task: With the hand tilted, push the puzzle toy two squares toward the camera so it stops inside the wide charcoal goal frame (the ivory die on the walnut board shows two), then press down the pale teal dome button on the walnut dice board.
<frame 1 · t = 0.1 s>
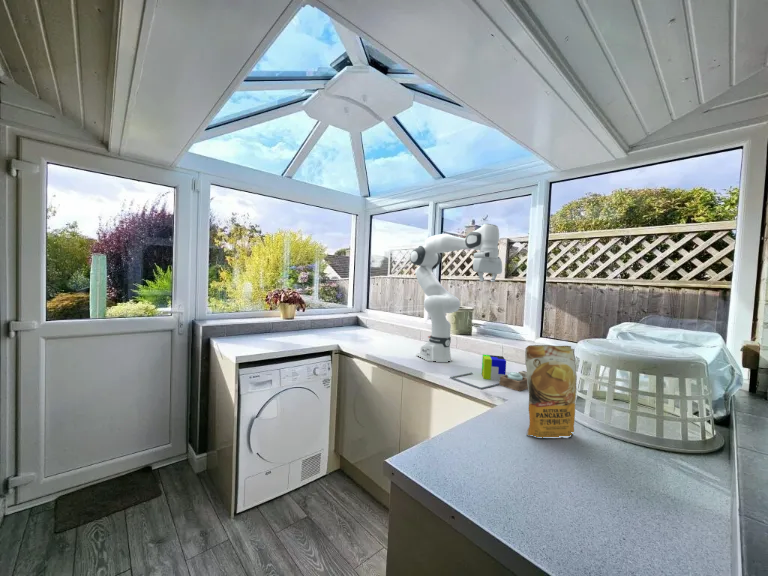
hand: (487, 281, 167), 48 cm above the worktop, tool pointing down, fingers open, 8 cm apart
puzzle toy: (492, 377, 162), on the worktop
pancake mix bag: (548, 434, 101), on the worktop
goal frame: (476, 380, 154), on the worktop
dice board: (518, 385, 150), on the worktop
dome button: (515, 376, 148), point 5 cm above the worktop, slide at 0.0 cm
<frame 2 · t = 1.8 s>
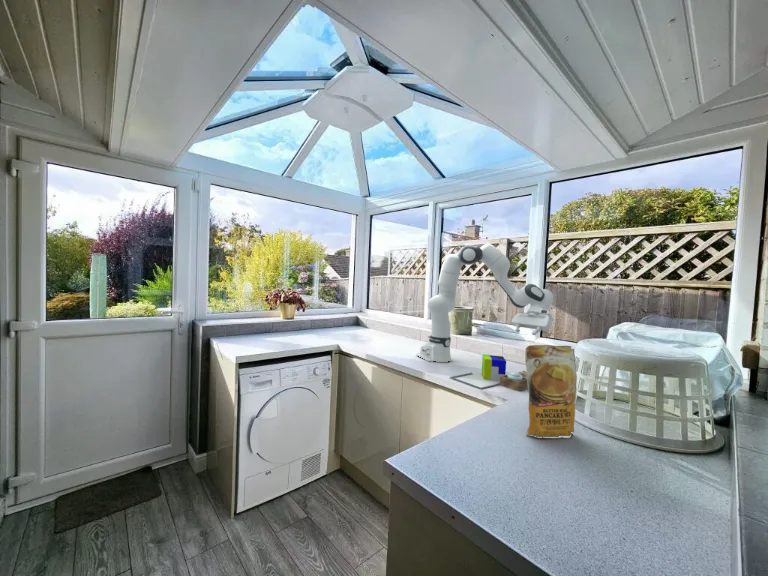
hand: (525, 333, 170), 22 cm above the worktop, tool tilted 45°, fingers open, 8 cm apart
nothing on the worktop moved.
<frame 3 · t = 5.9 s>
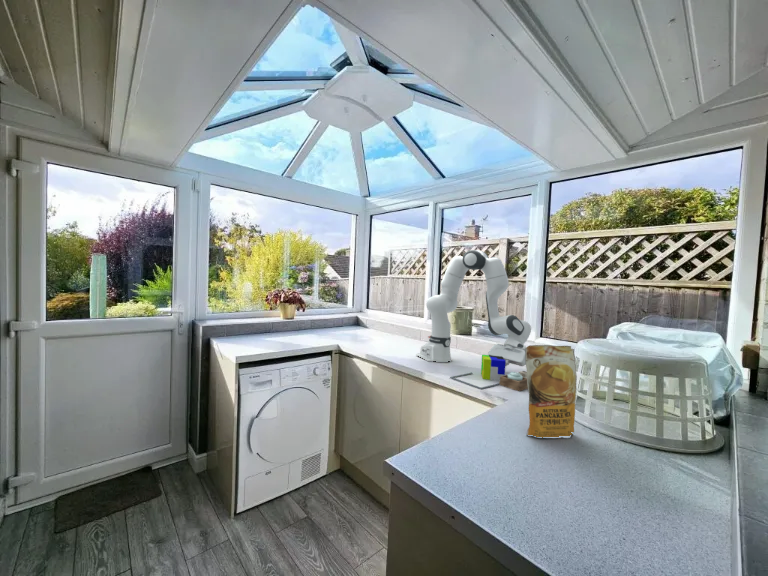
hand: (500, 367, 164), 4 cm above the worktop, tool tilted 45°, fingers closed, pressing on puzzle toy
puzzle toy: (492, 377, 161), on the worktop, touching gripper
everything else where it was.
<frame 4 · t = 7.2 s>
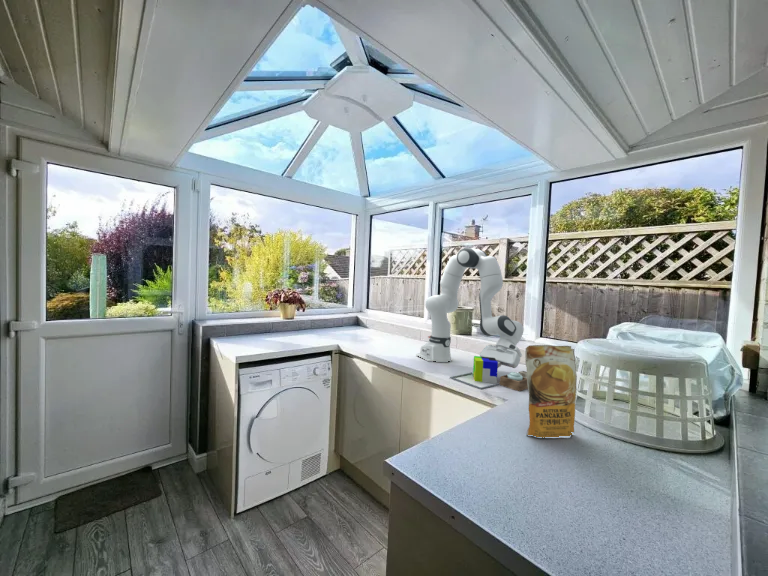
hand: (492, 369, 160), 4 cm above the worktop, tool tilted 45°, fingers closed, pressing on puzzle toy
puzzle toy: (484, 379, 157), on the worktop, touching gripper
everything else where it was.
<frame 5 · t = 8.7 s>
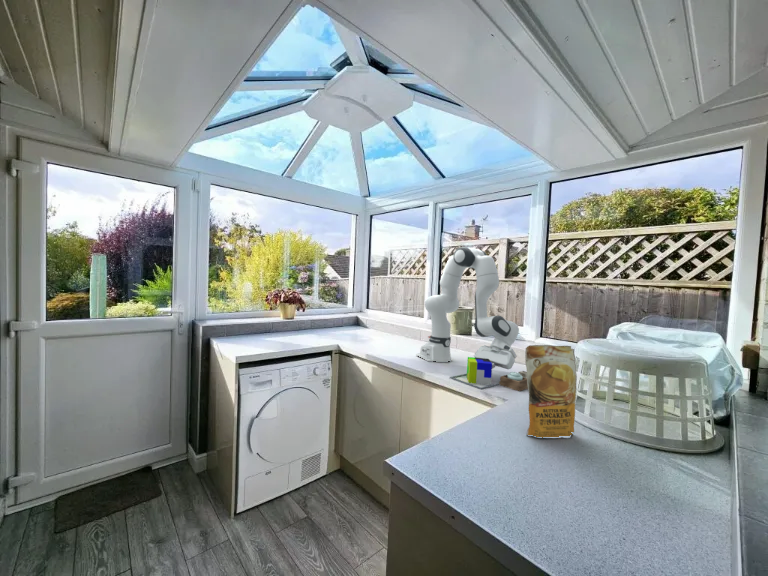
hand: (486, 370, 157), 4 cm above the worktop, tool tilted 45°, fingers closed, pressing on puzzle toy
puzzle toy: (478, 381, 154), on the worktop, touching gripper
everything else where it was.
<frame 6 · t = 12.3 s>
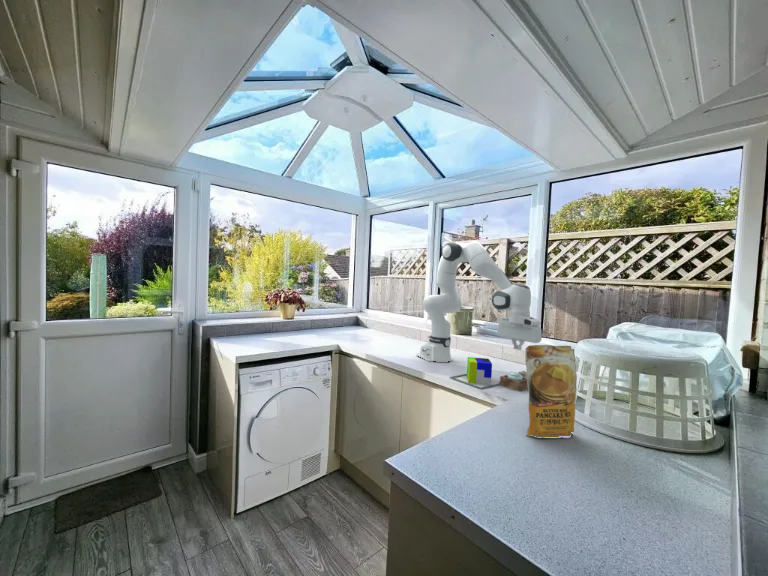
hand: (517, 349, 148), 17 cm above the worktop, tool pointing down, fingers closed
puzzle toy: (478, 381, 154), on the worktop
everything else where it was.
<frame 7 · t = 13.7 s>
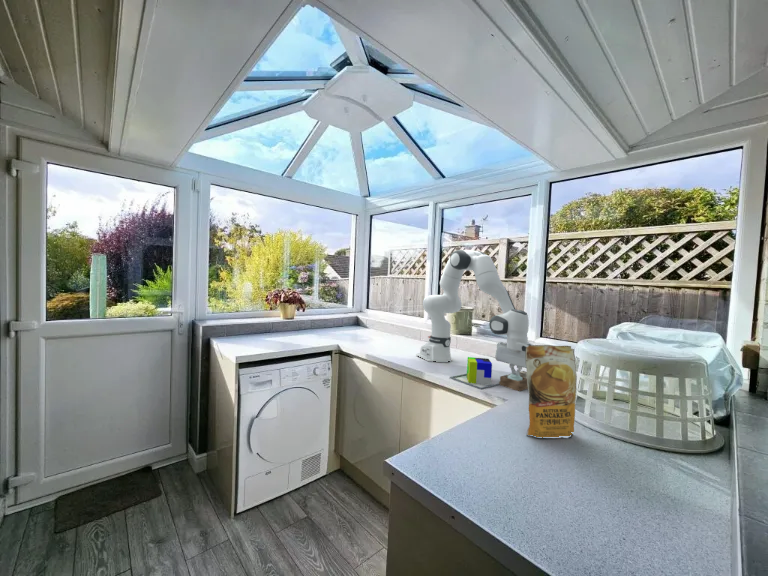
hand: (515, 374, 148), 5 cm above the worktop, tool pointing down, fingers closed, pressing on dome button
dome button: (514, 378, 148), point 4 cm above the worktop, slide at 0.7 cm, touching gripper
everything else where it was.
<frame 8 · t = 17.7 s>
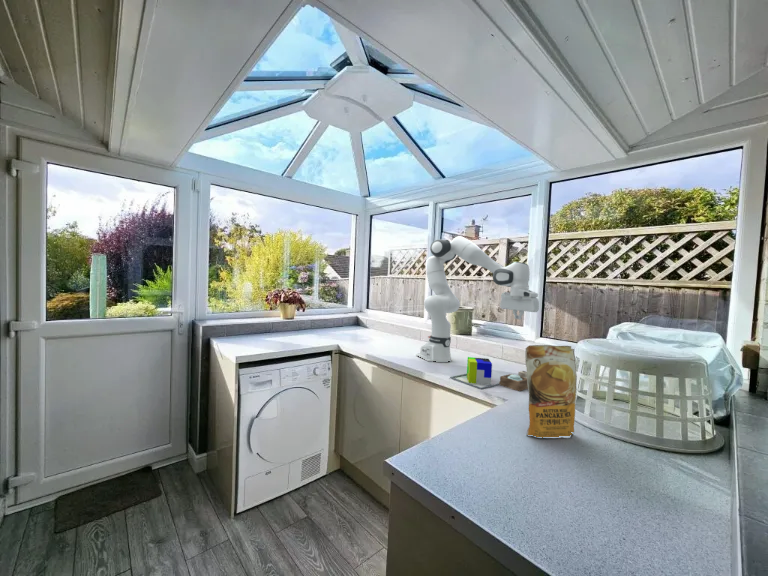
hand: (517, 319, 169), 29 cm above the worktop, tool pointing down, fingers closed
dome button: (514, 379, 148), point 3 cm above the worktop, slide at 1.2 cm
everything else where it was.
at the end: puzzle toy inside the target area (1.3 cm from its centre), on the worktop; puzzle toy moved 12.0 cm from its start; dome button slide at 1.2 cm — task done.
